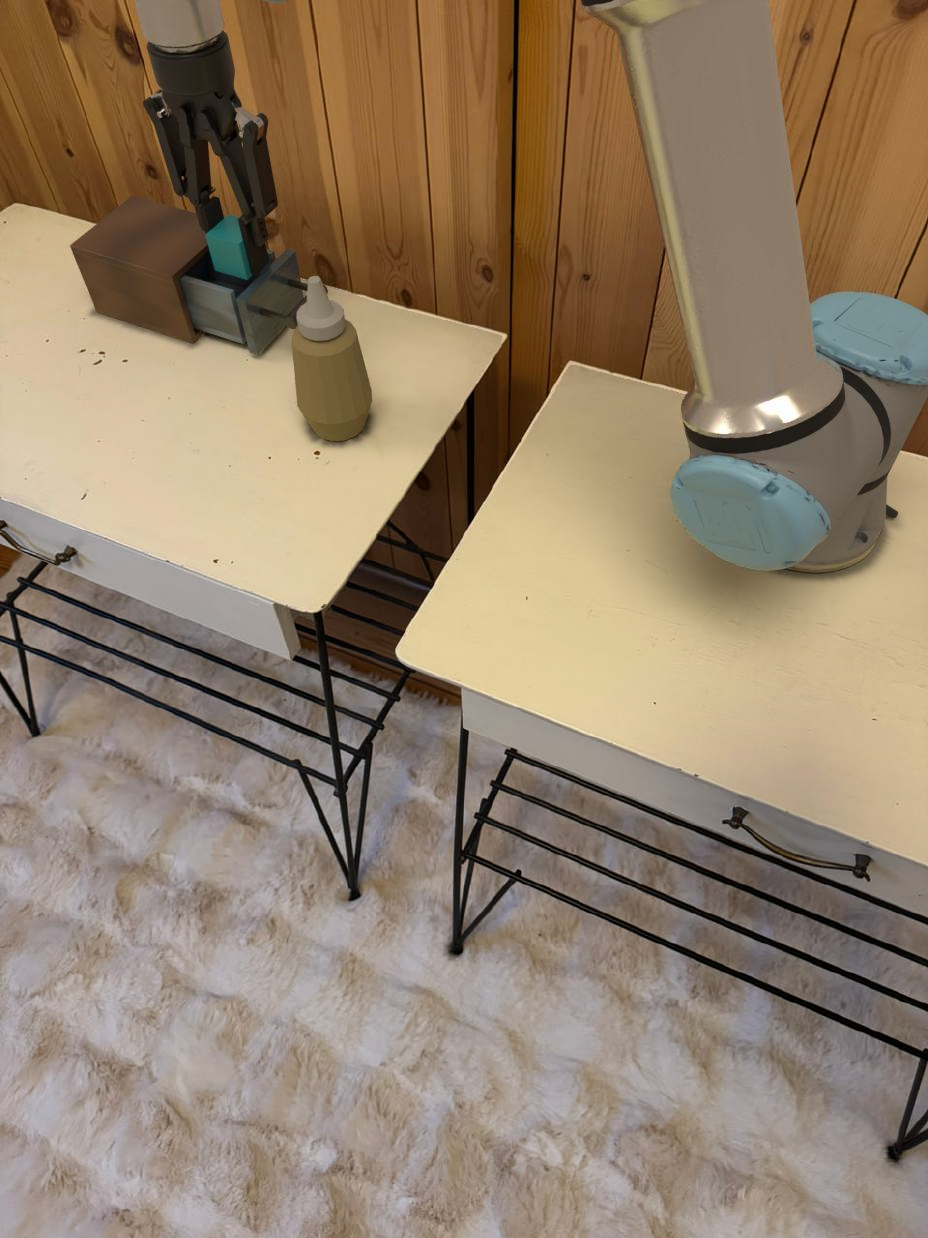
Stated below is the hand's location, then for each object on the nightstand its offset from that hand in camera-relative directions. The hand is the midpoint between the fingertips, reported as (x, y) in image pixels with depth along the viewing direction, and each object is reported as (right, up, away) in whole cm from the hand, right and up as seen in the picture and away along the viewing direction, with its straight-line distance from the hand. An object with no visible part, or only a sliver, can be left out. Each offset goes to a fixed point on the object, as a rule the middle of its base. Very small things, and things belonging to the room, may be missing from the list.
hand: (241, 262), depth 103 cm
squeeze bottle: (+11, -19, -3) cm, 22 cm away
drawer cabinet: (-11, -1, +11) cm, 15 cm away
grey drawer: (0, -4, +7) cm, 8 cm away
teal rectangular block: (0, 0, 0) cm, 0 cm away
